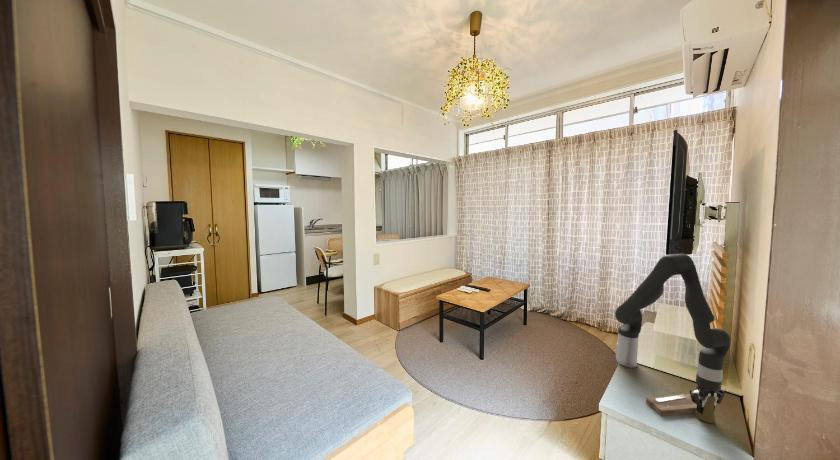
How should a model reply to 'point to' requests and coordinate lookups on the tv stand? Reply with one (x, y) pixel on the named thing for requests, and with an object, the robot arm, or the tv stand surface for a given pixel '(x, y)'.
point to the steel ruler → (670, 398)
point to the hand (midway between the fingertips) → (705, 412)
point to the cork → (707, 410)
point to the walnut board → (672, 405)
